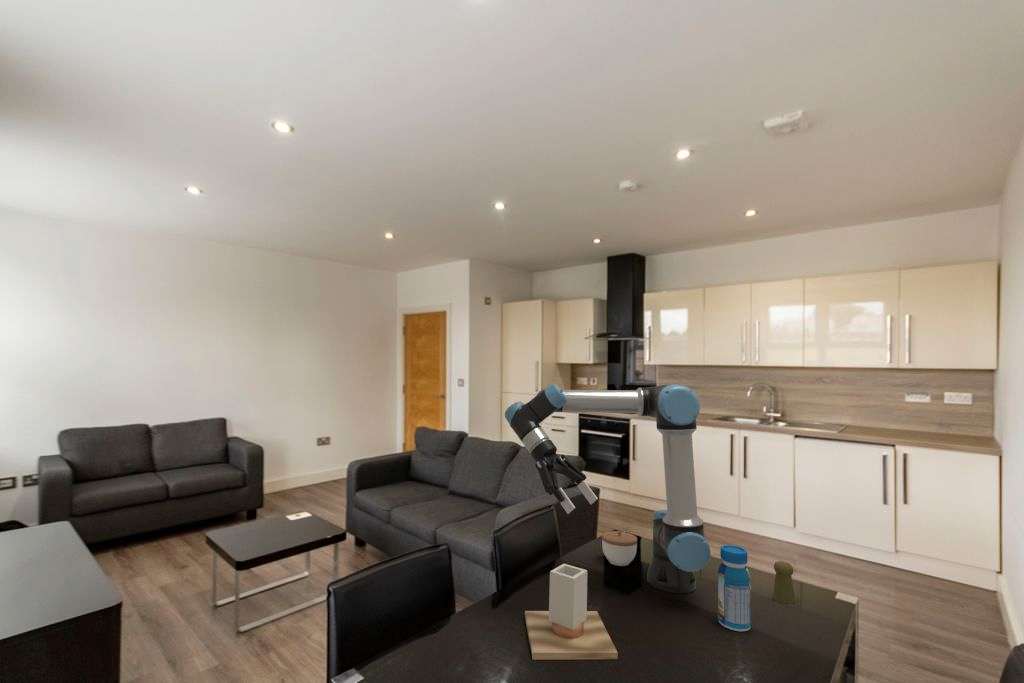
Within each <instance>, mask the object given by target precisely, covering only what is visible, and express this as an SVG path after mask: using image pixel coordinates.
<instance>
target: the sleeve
mask: <svg viewBox="0 0 1024 683" xmlns="http://www.w3.org/2000/svg"><path fill="white" fill-rule="evenodd" d="M548 595H549V598H548V600H549V603H548V611H549V621H551V622H554V623H556V624H559V625H562V626H564V627H567V628H569V629H572V630H574V629H575V628H576V627H577V626H579V625H580V624H581V623H582V622H583V621H585V620H586V619H587V611H588V609H587V608H588V604H587V603H588V570H587V569H584V568H580V567H577V566H574V565H570V564H568V563H562V564H561V565H559V566H557V567H556V568H554V569H552V570H550V572H549V593H548Z"/></svg>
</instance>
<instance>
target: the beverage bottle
mask: <svg viewBox="0 0 1024 683" xmlns="http://www.w3.org/2000/svg"><path fill="white" fill-rule="evenodd" d="M719 551H720V552H719V553H720V559H721V561H722V562H721V563H720V564H719V567H718V569H717V574H718V578H717V579H716V580H717V582H716V584H717V592H718V593H717V597H718V598H717V600H718V601H717V602H718V604H717V608H718V609H717V611H718V612H717V619H718V622H719V624H720V626H723V627H724V628H726V629H728V630H731V631H736V632H748V631H750V630H751V628H752V619H751V617H752V616H751V615H752V614H751V613H752V612H751V609H752V606H751V604H752V599H751V598H752V597H751V596H752V595H751V593H752V585H751V583H750V580H751V578H752V577H751V573H750V571H749V569H748V567H747V566H746V565H747V564H748V551H747V550H746V549H745V548H744V547H741V546H737V545H733V544H726V545H725V544H724V545H721V546H720V550H719Z"/></svg>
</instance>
